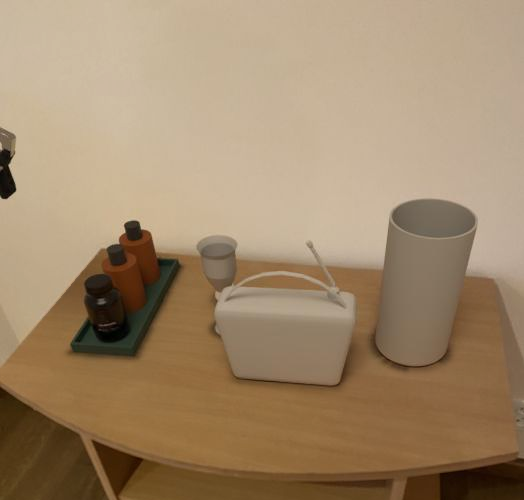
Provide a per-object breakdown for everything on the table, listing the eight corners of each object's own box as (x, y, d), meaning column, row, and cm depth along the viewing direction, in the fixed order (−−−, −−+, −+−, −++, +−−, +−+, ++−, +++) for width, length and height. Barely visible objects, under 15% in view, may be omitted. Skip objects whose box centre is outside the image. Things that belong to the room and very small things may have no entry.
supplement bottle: (109, 348, 95) (90, 296, 87) (88, 334, 98) (69, 282, 90) (138, 330, 98) (123, 278, 90) (118, 316, 102) (101, 265, 94)
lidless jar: (223, 307, 103) (243, 297, 105) (221, 295, 101) (242, 286, 103) (210, 295, 106) (231, 287, 108) (209, 284, 104) (229, 275, 106)
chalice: (202, 329, 98) (187, 247, 86) (226, 311, 102) (215, 231, 90) (229, 343, 95) (218, 260, 83) (253, 325, 98) (246, 243, 86)
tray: (134, 356, 94) (131, 347, 92) (73, 352, 96) (69, 343, 94) (179, 266, 116) (178, 258, 114) (129, 264, 118) (127, 257, 116)
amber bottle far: (123, 281, 112) (107, 227, 103) (144, 266, 116) (131, 213, 107) (146, 289, 109) (132, 235, 100) (167, 273, 113) (155, 220, 104)
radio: (352, 356, 90) (362, 229, 73) (350, 390, 84) (360, 260, 67) (232, 347, 94) (215, 225, 77) (222, 379, 88) (201, 254, 71)
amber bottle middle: (107, 307, 105) (89, 252, 96) (130, 290, 109) (115, 236, 100) (131, 316, 102) (114, 261, 93) (154, 299, 106) (140, 244, 97)
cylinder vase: (382, 317, 98) (397, 194, 81) (449, 329, 94) (480, 203, 77) (368, 360, 89) (382, 232, 72) (442, 375, 85) (474, 244, 69)
